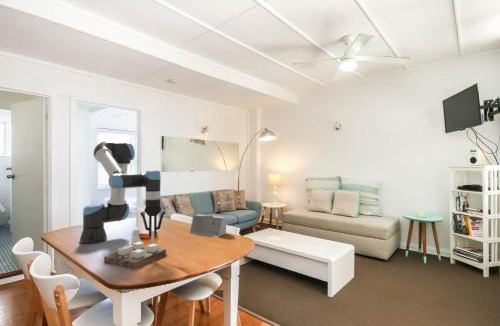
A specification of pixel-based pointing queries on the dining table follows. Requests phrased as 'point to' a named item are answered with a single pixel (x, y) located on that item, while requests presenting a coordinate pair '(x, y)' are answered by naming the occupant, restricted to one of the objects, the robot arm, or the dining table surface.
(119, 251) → the button
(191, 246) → the dining table surface
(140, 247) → the button
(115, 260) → the board
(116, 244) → the dining table surface
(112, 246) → the dining table surface
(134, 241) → the seated beast figurine
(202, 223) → the grey rectangular block
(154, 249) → the button
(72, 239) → the dining table surface
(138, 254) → the button
